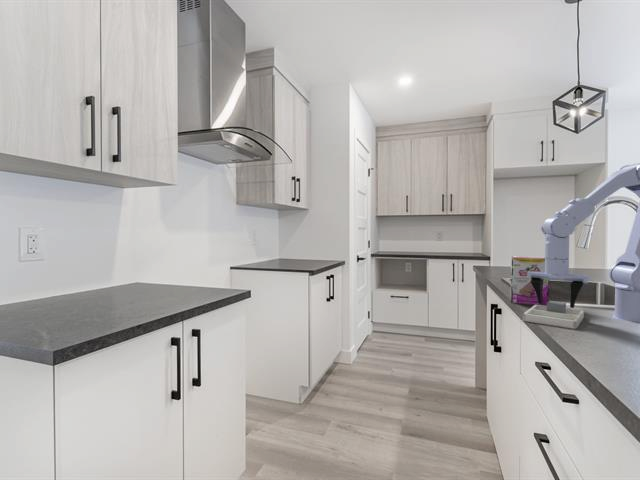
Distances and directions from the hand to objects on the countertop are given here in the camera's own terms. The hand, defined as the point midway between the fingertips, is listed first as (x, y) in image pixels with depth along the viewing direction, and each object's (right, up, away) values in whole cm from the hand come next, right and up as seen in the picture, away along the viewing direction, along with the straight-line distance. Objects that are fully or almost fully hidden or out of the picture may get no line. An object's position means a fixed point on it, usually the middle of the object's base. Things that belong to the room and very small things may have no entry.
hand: (555, 305), depth 100 cm
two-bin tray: (-2, -4, -2) cm, 5 cm away
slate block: (0, -3, 0) cm, 3 cm away
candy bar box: (+3, -3, +18) cm, 18 cm away
